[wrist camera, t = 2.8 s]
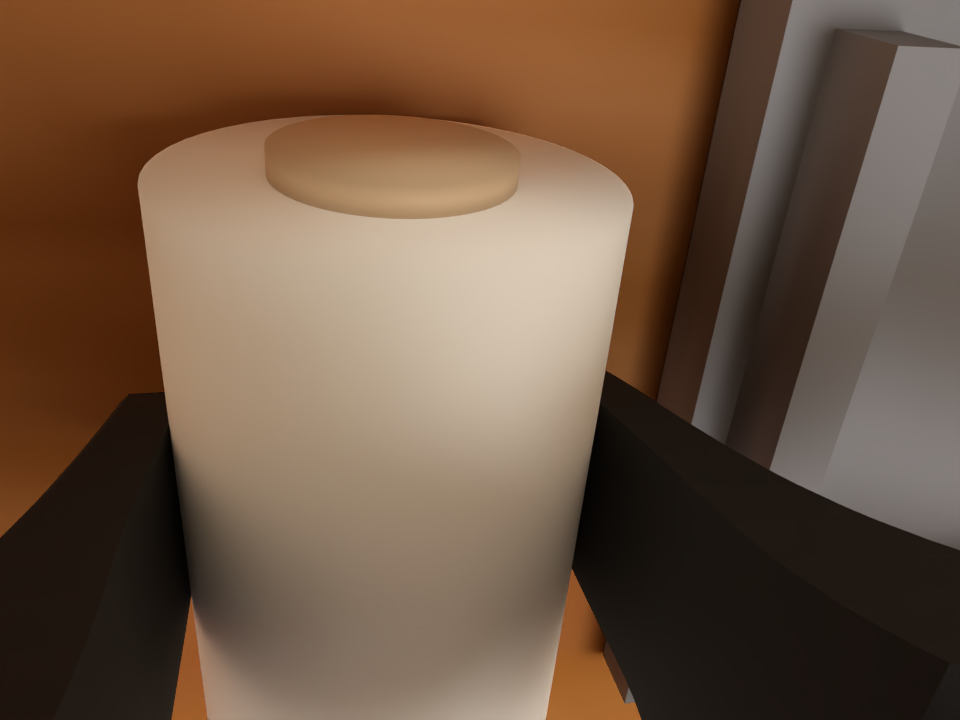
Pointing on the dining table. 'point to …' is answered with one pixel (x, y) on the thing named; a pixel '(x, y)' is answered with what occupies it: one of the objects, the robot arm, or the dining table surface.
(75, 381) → the dining table surface
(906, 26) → the roll cradle
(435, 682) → the paper roll
